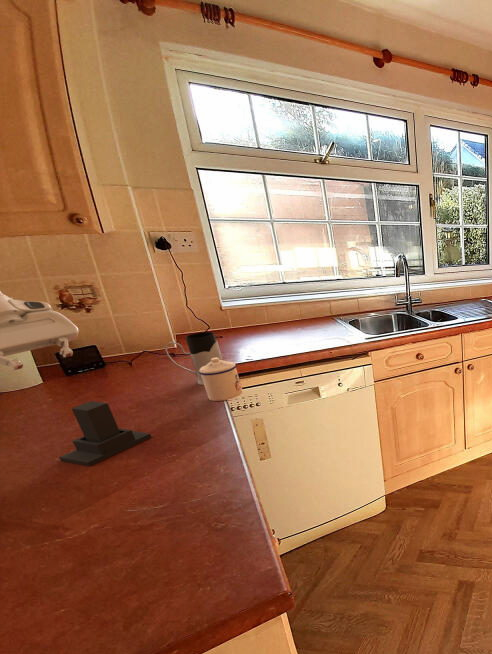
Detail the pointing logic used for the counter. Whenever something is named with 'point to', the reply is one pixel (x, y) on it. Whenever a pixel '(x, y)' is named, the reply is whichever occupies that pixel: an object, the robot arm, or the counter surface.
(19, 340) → the robot arm
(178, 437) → the counter surface
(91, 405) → the dark grey rectangular block
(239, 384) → the teacup with lid
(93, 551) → the counter surface
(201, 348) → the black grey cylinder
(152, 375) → the counter surface
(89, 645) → the counter surface
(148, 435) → the base pad
